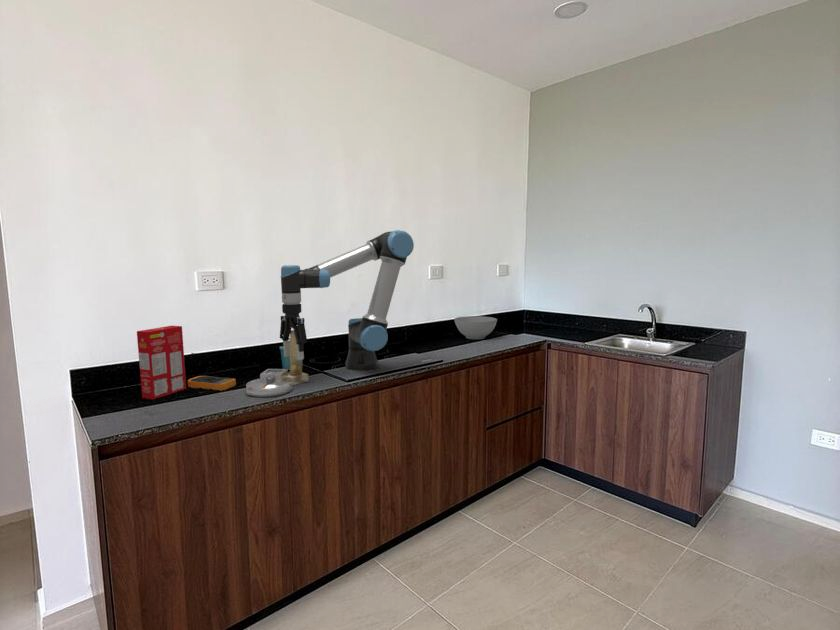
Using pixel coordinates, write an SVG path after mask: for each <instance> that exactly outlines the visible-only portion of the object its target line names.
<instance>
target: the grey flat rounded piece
mask: <svg viewBox="0 0 840 630" xmlns="http://www.w3.org/2000/svg"><path fill="white" fill-rule="evenodd" d="M288 373H289V371H288V369H283V368H267V369H266V370H264V371H262V372H261V373H260V375H259V378H257V379H256V378H255V379H253V380H250V381H248V382H247V383H246V384H245V388H246V394H247V395H248V396H251V397H256V398H257V397H258V398H271V397H276V396H282V395H284V394H288V393H290V392H292V391H293V389H294V385H293V382H292V380H291V379H290V378H286V377H288Z"/></svg>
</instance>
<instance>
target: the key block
mask: <svg viewBox="0 0 840 630" xmlns="http://www.w3.org/2000/svg"><path fill="white" fill-rule="evenodd" d="M286 378H290V379H291V380H292V382H293V386H295V385H298V384H299V385H300V384H303V383H306V382H309V374H308V373H305V372H302V374H301V375H290V372H288V377H286Z"/></svg>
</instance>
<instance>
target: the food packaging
mask: <svg viewBox="0 0 840 630" xmlns="http://www.w3.org/2000/svg"><path fill="white" fill-rule="evenodd" d="M183 337H184V336H183V326H182V325H167V326H162V327H156V328H155V327H154V328H149V329H142V330H137V331H136V339H137V350H138V351H137V353H138V363H139V364H138V365H139V375H140V376H139V377H140V387H141V398H142V399H144V398H146V399H145V400H150V399H151V400H152V401H154V400H156V398H157V399H159V398H163V397H165V396H169V395H172V394H176V393H179V392H181V390H182V391H184V389H185V390H187V379H186V366H185V352H184V349H185V347H184V338H183ZM178 391H179V392H178ZM153 399H154V400H153ZM151 400H150V401H151Z"/></svg>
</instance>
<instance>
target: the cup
mask: <svg viewBox="0 0 840 630" xmlns="http://www.w3.org/2000/svg"><path fill="white" fill-rule="evenodd" d="M283 346H284V344H283V343H282V346H279V350H280V357H281V364H282V369H288V370H290V356H286V357H284V347H283Z"/></svg>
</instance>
